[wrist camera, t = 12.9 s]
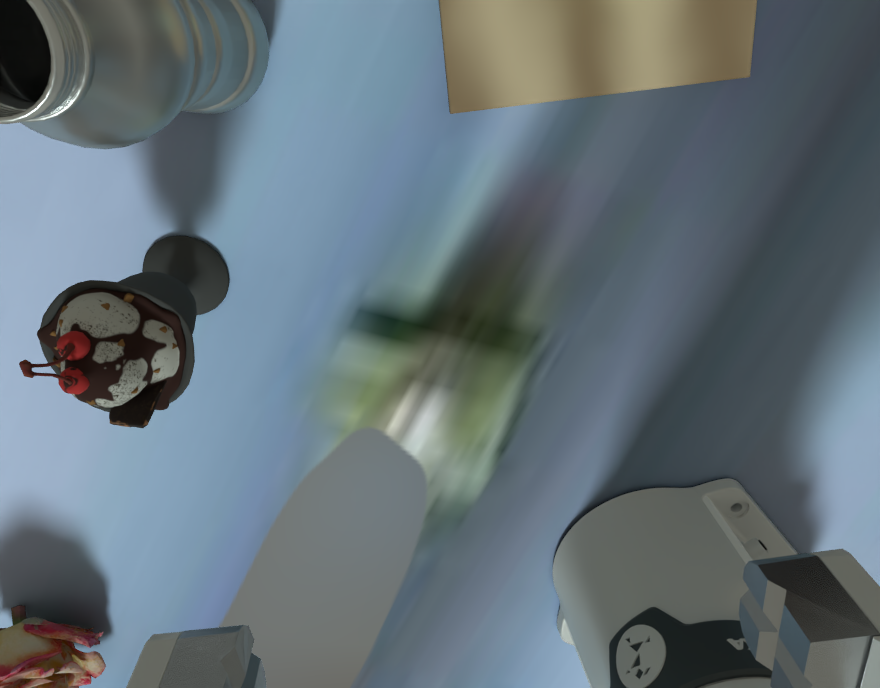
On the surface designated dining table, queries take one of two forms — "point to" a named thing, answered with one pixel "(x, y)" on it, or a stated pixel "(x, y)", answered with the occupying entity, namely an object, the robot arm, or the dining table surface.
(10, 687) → the flower
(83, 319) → the sundae
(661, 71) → the tan square board
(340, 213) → the dining table surface
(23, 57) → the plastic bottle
